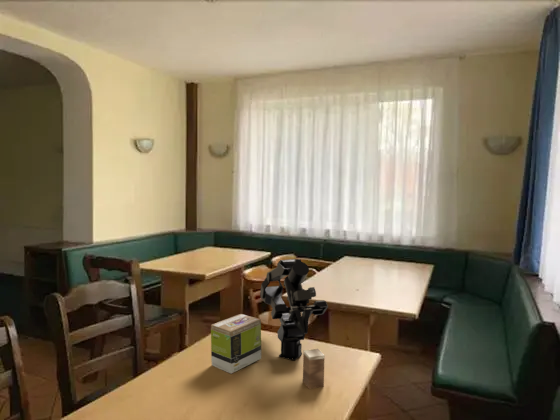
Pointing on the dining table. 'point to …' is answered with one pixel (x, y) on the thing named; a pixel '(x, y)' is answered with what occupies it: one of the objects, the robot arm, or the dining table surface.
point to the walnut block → (313, 368)
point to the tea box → (235, 342)
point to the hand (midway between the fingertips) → (305, 333)
